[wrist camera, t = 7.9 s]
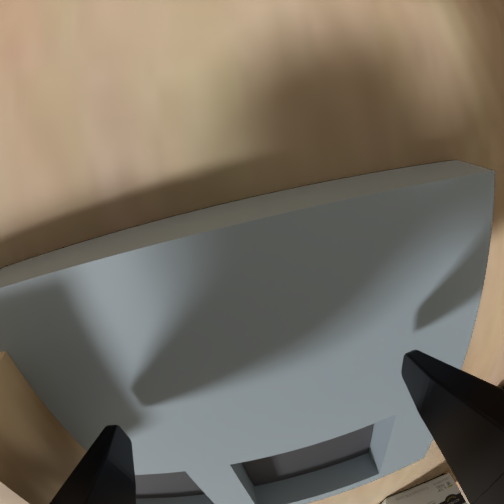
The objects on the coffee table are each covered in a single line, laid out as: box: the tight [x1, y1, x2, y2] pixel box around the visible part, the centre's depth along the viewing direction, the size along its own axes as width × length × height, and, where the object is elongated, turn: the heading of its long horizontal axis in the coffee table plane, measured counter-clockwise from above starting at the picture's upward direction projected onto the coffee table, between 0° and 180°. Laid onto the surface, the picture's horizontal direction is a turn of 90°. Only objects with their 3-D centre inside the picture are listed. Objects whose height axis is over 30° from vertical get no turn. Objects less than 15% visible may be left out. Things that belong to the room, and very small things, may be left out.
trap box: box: [0, 160, 495, 504], centre depth 12 cm, size 18×24×2 cm
